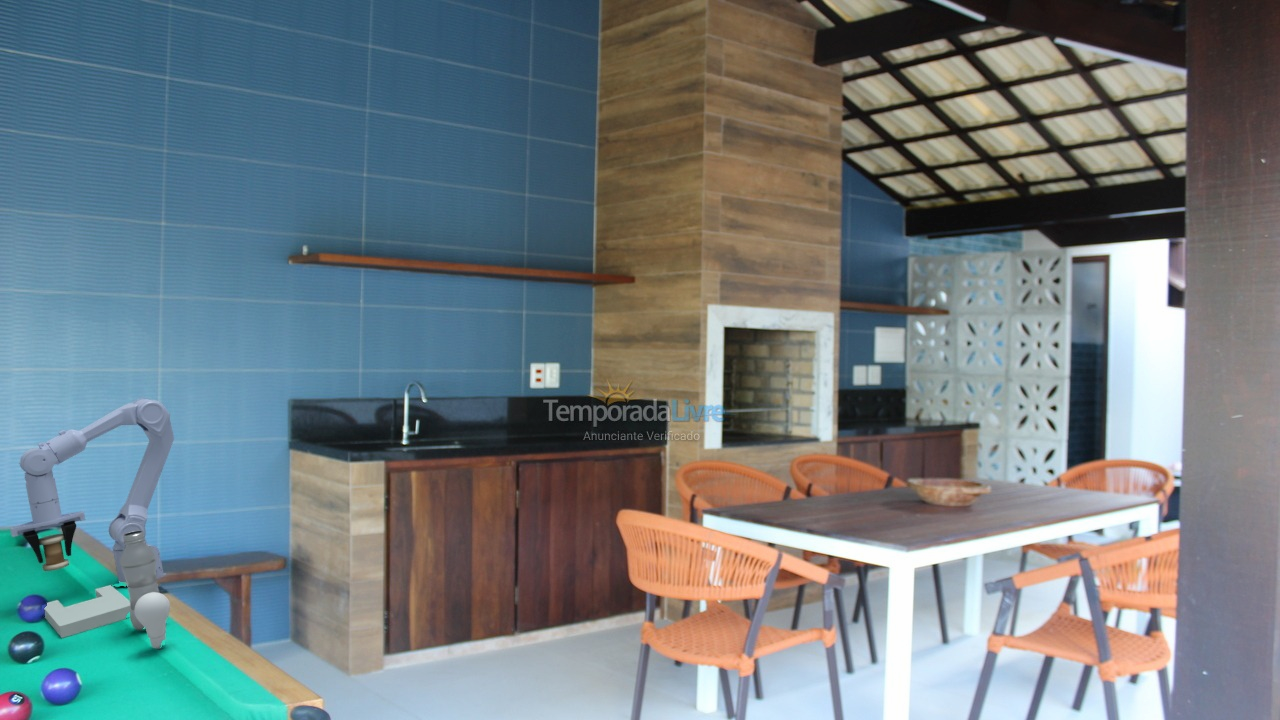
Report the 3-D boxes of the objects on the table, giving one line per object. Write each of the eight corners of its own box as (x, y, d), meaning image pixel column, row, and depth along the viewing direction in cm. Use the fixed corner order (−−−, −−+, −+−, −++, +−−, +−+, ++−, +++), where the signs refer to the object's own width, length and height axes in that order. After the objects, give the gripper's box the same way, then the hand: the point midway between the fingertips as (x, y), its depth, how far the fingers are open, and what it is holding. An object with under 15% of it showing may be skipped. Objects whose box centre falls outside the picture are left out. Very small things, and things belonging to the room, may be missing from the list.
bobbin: (74, 563, 228) (69, 533, 227) (55, 570, 223) (50, 540, 222) (56, 563, 229) (51, 534, 229) (37, 571, 224) (32, 541, 224)
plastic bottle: (154, 633, 198) (136, 537, 196) (125, 634, 200) (107, 539, 197) (175, 621, 204) (158, 527, 202) (147, 622, 206) (129, 529, 203)
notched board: (136, 615, 211) (133, 604, 211) (61, 638, 202) (59, 626, 202) (112, 595, 228) (110, 584, 228) (43, 615, 219) (40, 604, 219)
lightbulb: (135, 653, 188) (124, 598, 187) (163, 640, 193) (153, 586, 192) (156, 656, 185) (145, 600, 184) (184, 643, 191) (174, 588, 189)
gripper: (76, 490, 232) (86, 546, 234) (4, 506, 223) (15, 564, 224) (82, 494, 226) (93, 551, 228) (8, 510, 217) (20, 570, 219)
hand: (55, 558), depth 226 cm, fingers closed on bobbin, 5 cm apart
